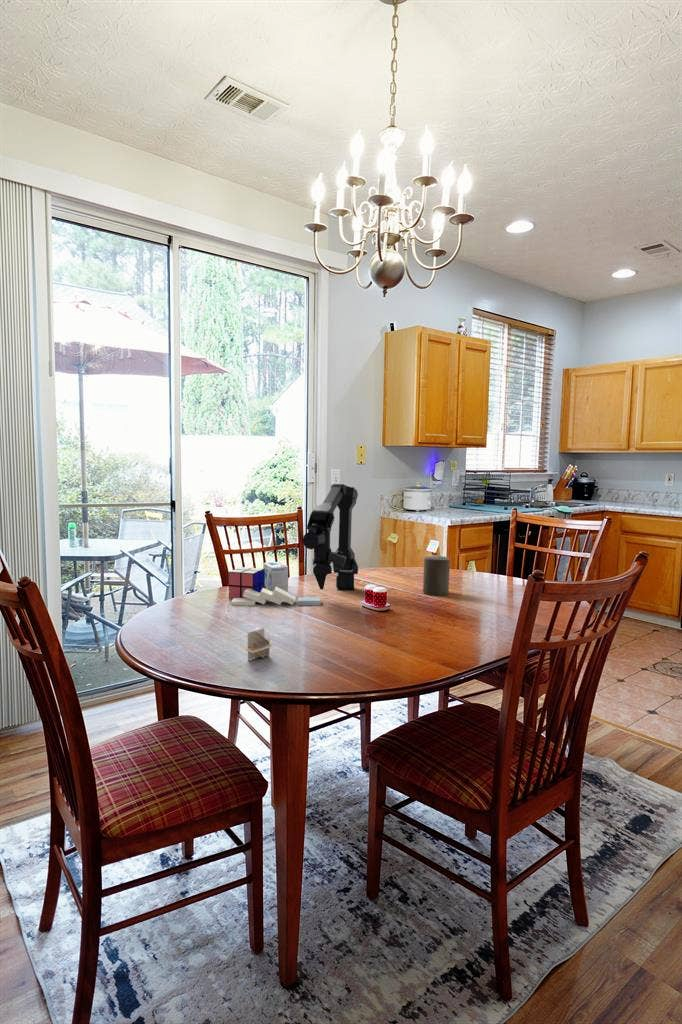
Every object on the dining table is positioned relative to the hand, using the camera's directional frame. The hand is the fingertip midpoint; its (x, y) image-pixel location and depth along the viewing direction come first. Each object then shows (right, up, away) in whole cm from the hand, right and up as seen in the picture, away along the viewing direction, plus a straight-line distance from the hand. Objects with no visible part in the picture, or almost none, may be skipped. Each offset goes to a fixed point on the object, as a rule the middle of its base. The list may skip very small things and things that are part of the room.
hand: (321, 589), depth 205 cm
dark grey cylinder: (+43, -4, +18) cm, 47 cm away
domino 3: (-14, -4, 0) cm, 14 cm away
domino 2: (-19, -4, 0) cm, 20 cm away
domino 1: (-23, -5, -1) cm, 23 cm away
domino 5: (0, -4, 0) cm, 5 cm away
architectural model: (-14, -11, -56) cm, 59 cm away
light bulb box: (-18, -4, +16) cm, 25 cm away
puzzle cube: (-28, -4, +9) cm, 29 cm away
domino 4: (-10, -4, 0) cm, 10 cm away
